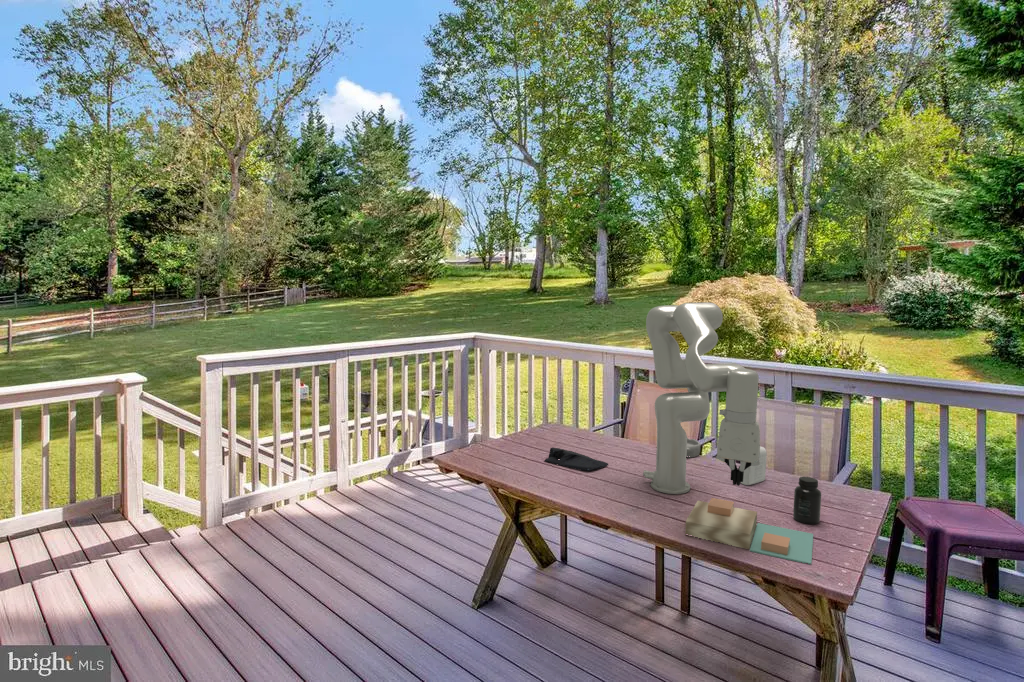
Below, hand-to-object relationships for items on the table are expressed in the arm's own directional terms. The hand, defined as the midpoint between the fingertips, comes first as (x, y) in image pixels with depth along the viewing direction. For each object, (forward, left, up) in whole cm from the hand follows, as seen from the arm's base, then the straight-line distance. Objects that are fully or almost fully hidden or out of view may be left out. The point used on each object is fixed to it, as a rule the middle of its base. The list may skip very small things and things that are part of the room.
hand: (736, 483), depth 149 cm
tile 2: (+10, -3, -13) cm, 17 cm away
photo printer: (-1, +46, -15) cm, 48 cm away
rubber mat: (+12, +2, -15) cm, 19 cm away
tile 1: (-5, +6, -10) cm, 12 cm away
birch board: (-4, +2, -15) cm, 15 cm away
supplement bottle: (+16, +21, -15) cm, 30 cm away
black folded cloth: (-60, +35, -15) cm, 71 cm away
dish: (-29, +67, -15) cm, 74 cm away
